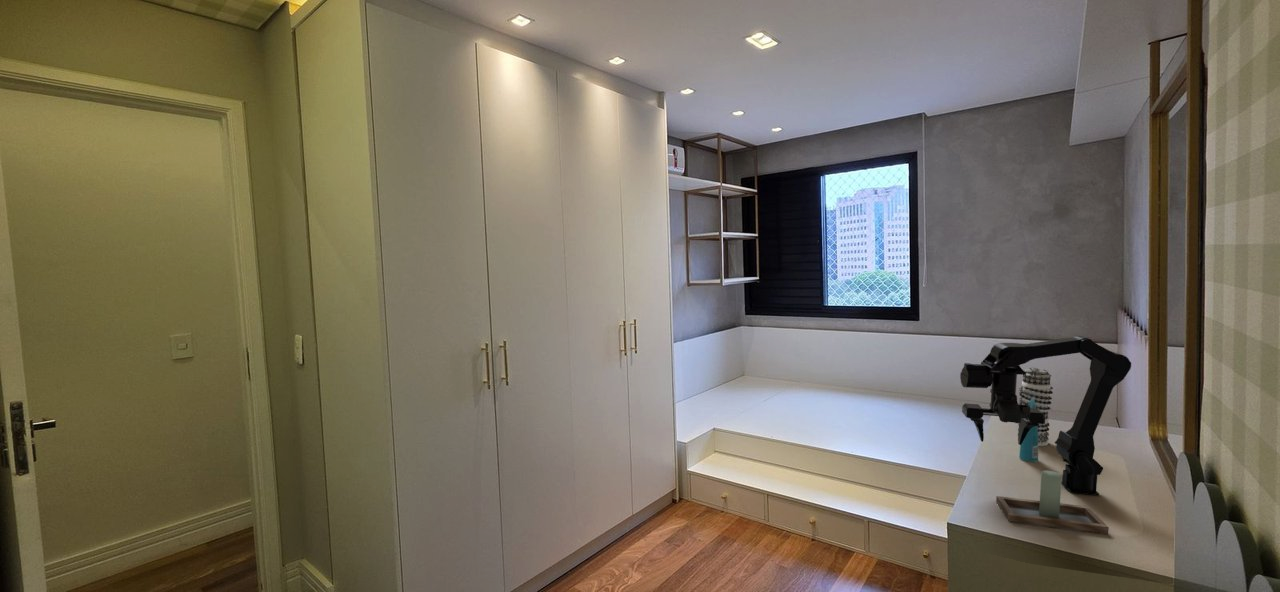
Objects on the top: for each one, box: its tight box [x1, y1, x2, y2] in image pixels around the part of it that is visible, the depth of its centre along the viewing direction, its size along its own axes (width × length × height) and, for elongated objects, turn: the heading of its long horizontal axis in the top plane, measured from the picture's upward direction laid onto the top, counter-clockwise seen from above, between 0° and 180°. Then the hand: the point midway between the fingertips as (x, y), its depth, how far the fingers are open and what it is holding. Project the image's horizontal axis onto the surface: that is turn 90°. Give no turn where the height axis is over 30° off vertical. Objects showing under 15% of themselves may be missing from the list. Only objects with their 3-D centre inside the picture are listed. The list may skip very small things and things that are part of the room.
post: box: [1039, 470, 1063, 519], centre depth 135 cm, size 4×4×11 cm
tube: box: [1019, 397, 1039, 463], centre depth 169 cm, size 7×5×19 cm, turn 140°
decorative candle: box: [1017, 367, 1054, 447], centre depth 184 cm, size 9×9×25 cm
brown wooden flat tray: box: [995, 495, 1110, 535], centre depth 135 cm, size 20×10×2 cm, turn 72°
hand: (1000, 442), depth 153 cm, fingers open, 9 cm apart
